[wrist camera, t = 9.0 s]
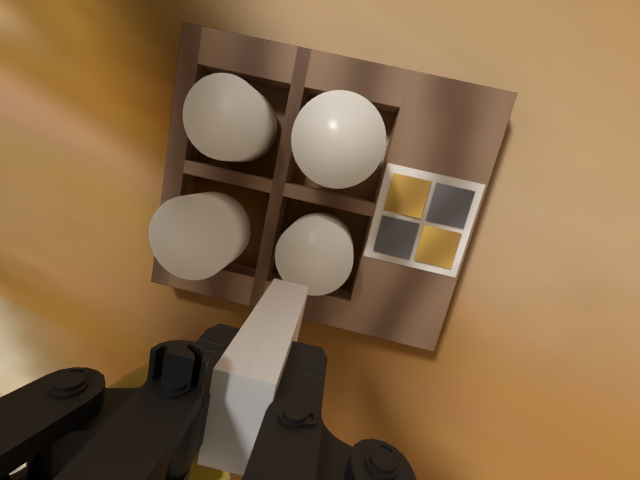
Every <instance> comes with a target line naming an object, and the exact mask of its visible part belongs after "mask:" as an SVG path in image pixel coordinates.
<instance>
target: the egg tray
mask: <svg viewBox="0 0 640 480" xmlns="http://www.w3.org/2000/svg"><path fill="white" fill-rule="evenodd" d="M211 73H229V74H233V75H236V76H238V77H240V78H242V79H243V80H246V81H251V82H256V83H260V84H265V85H269V86H274V87H279V88H283V89H288V90H290V91H289V96H288V101H287V107H286V112H285V117H284V123H283V128H282V133H281V139H280V144H279V149H278V154H277V160H276V165H275V170H274V176H273V178H271V177H266V176H262V175H258V174H253V173H249V172H245V171H240V170H236V169H232V168H227V167H223V166H219V165H214V164H210V163H205V162H201V161H199V154H200V151H199V150H198V149H197V148H196V147H195V146H194V145H193V144H192V143H191V141H190V139H189V138H188V136H187V134H186V131H185V128H184V124H183V106H184V102H185V99H186V96H187V94H188V92H189V91H190V89H191V88H192V87H193V86H194V84H195V83H197V82H198V81H199V80H200V79H202V78H203V77H205V76H208V75H211ZM333 90H346V91H351V92H354V93H357V94H359V95H361V96H363V97H364V98H366V99H367V100H369V101H370V102H371V103H372V104H373V105H374V106H375V107H376V109H380V110H384V111H389V112H393V113H396V115H395V119H394V122H393V126H392V130H391V134H390V138H389V142H388V146H387V150H386V154H385V158H384V162H383V166H382V170H381V173H380V177H379V181H378V185H377V189H376V193H375V197H374V201H371V200H367V199H362V198H358V197H354V196H349V195H345V194H340V193H336V192H332V191H327V190H323V189H319V188H314V187H310V186H306V185H301V184H297V183H293V182H291V179H292V174H293V169H294V164H295V158H294V156H293V152H292V146H291V134H292V129H293V125H294V122H295V120H296V117H297V116H298V114H299V112H300V111H301V109H302V108H303V107H304V106H305V105H306V104H307V99H308V94H311V95H315V96H318V95H320V94H322V93H324V92H328V91H333ZM517 94H518V93H516V92H511V91H506V90H501V89H497V88H492V87H487V86H482V85H478V84H473V83H468V82H464V81H459V80H454V79H449V78H445V77H440V76H435V75H431V74H426V73H421V72H416V71H412V70H407V69H402V68H397V67H393V66H388V65H383V64H379V63H374V62H369V61H364V60H360V59H355V58H350V57H346V56H341V55H336V54H331V53H327V52H322V51H317V50H312V49H308V48H303V47H298V46H294V45H289V44H284V43H279V42H275V41H270V40H265V39H261V38H256V37H251V36H246V35H242V34H237V33H232V32H227V31H223V30H218V29H213V28H209V27H204V26H199V25H194V24H190V23H185V22H182V29H181V38H180V46H179V54H178V63H177V71H176V79H175V88H174V96H173V104H172V113H171V121H170V130H169V138H168V146H167V155H166V163H165V171H164V180H163V188H162V196H161V205H162V204H163V203H164V202H166V201H168V200H169V199H172V198H174V197H178V196H184V195H191V194H194V189H195V182H196V176H199V177H203V178H207V179H212V180H216V181H220V182H225V183H229V184H233V185H237V186H242V187H246V188H250V189H255V190H259V191H263V192H268V193H270V197H269V202H268V208H267V213H266V218H265V224H264V229H263V234H262V239H261V245H260V250H259V255H258V261H257V266H256V268H254V267H250V266H245V265H241V264H237V263H233V262H231V263H229V264H228V265H227V266H225V267H224V268H223V269H221V270H220V271H219V272H217V273H216V274H215V275H213V276H211V277H209V278H206V279H202V280H187V279H182V278H179V277H177V276H175V275H173V274H171V273H170V272H168V271H167V270H166V269H165V268H164V267H162V266H161V264H160V263H159V262H158V261H157V259H156V258H155V256H154V263H153V271H152V280H151V282H154V283H158V284H162V285H166V286H171V287H175V288H179V289H183V290H187V291H191V292H195V293H199V294H203V295H207V296H211V297H215V298H219V299H223V300H227V301H231V302H235V303H239V304H243V305H247V306H251V307H255V306H256V305H257V303H258V302H259V300H260V299H261V297H262V296H263V294H264V293H265V292H266V290H267V289H268V287H269V286H270V284H271V283H272V281H273V280H274V278H275V279H279V280H283V279H282V278H281V276H280V274H278V273H274V272H273V269H274V264H275V249H276V246H277V243H278V240H279V238H280V234H281V229H282V224H283V219H284V214H285V209H286V204H287V199H288V197H289V198H294V199H298V200H302V201H307V202H311V203H315V204H319V205H324V206H328V207H332V208H337V209H341V210H345V211H350V212H354V213H358V214H363V215H367V216H370V217H369V221H368V225H367V228H366V232H365V236H364V240H363V244H362V248H361V252H360V256H359V260H358V264H357V268H356V272H355V276H354V279H353V283H352V287H351V291H349V290H345V289H340V288H338V289H336V290H335V291H333V292H331V293H328V294H325V295H318V296H312V295H307V299H306V303H305V308H304V312H303V317H302V319H304V320H308V321H312V322H316V323H320V324H324V325H328V326H332V327H336V328H341V329H345V330H349V331H353V332H357V333H361V334H365V335H369V336H373V337H377V338H381V339H385V340H389V341H393V342H397V343H401V344H405V345H409V346H413V347H417V348H421V349H426V350H430V351H434V350H435V347H436V343H437V340H438V337H439V334H440V331H441V328H442V325H443V322H444V319H445V316H446V313H447V310H448V306H449V303H450V300H451V297H452V294H453V291H454V288H455V285H456V282H457V279H458V276H459V273H460V269H461V266H462V263H463V260H464V257H465V254H466V251H467V248H468V245H469V242H470V239H471V235H472V232H473V229H474V226H475V223H476V220H477V217H478V214H479V211H480V208H481V205H482V202H483V198H484V195H485V192H486V189H487V186H488V183H489V180H490V177H491V174H492V171H493V168H494V165H495V161H496V158H497V155H498V152H499V149H500V146H501V143H502V140H503V137H504V134H505V131H506V127H507V124H508V121H509V118H510V115H511V112H512V109H513V106H514V103H515V100H516V97H517ZM161 205H160V206H161ZM283 281H284V280H283Z"/></svg>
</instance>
